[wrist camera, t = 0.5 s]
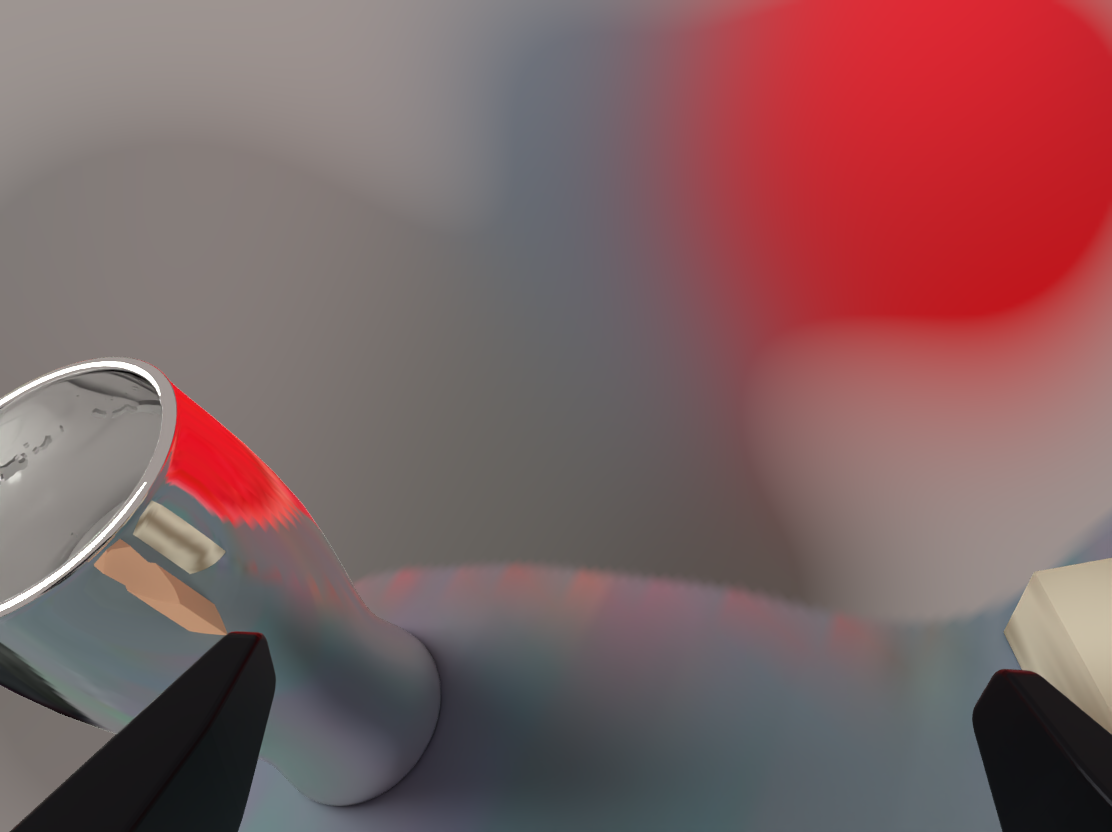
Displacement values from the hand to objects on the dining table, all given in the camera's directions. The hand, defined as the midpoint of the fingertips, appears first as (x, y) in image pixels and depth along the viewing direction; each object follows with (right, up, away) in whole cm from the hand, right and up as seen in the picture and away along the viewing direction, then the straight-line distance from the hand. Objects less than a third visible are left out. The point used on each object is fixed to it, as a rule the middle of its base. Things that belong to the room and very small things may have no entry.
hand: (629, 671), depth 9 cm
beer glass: (-8, -7, +17) cm, 20 cm away
